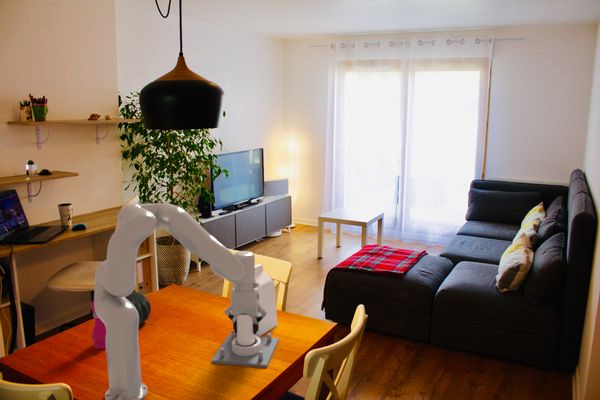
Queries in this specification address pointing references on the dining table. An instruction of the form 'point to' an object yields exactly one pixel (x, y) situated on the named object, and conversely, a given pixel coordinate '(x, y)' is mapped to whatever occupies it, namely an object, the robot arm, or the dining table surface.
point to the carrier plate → (246, 359)
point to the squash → (140, 305)
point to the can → (245, 330)
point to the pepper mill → (98, 331)
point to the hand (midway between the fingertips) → (246, 331)
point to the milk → (266, 300)
